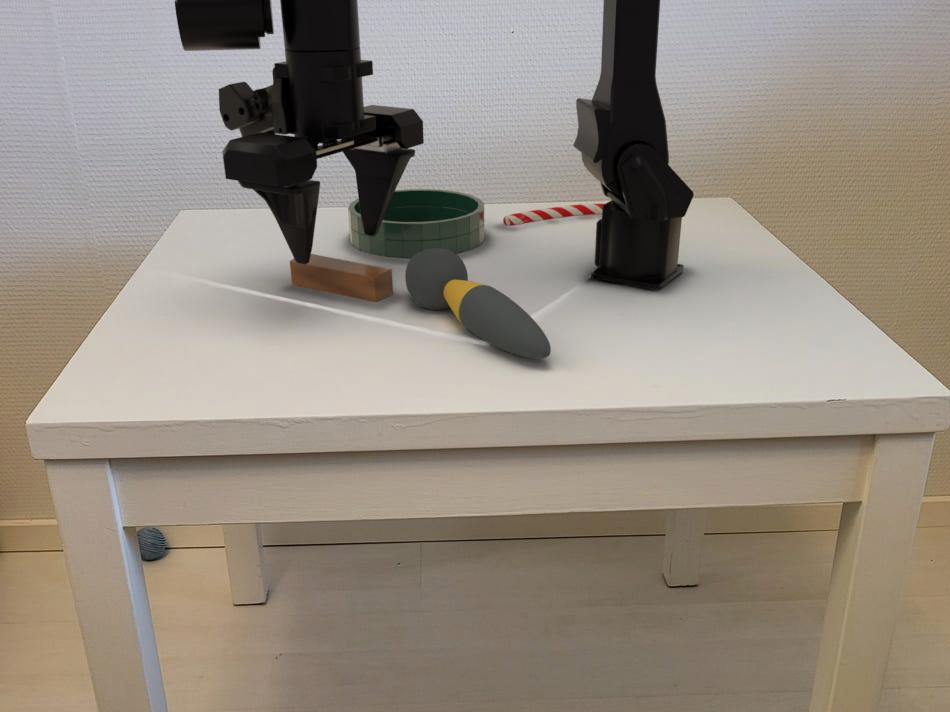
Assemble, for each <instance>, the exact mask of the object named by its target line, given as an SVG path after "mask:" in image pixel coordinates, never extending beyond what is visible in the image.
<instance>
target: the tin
mask: <svg viewBox="0 0 950 712" xmlns="http://www.w3.org/2000/svg"><path fill="white" fill-rule="evenodd" d="M347 214H348V215H347V216H348V229H349V230H348V231H349V240H350V243H351V245H352V246H353V247H354V248H356V249H357V250H359V251H361V252H364V253H367V254H371V255H375V256H378V257H379V256H381V257H387V258H393V259H395V258H397V259H411V258H412V257H413V256H414V255H416V254H417V253H419V252H422V251H424V250H427V249H433V248H441V249H447V250H450V251H452V252H454V253H455V254H457V255H458V254H462V253H465V252H468V251H471V250H473V249H476V248H478V247H479V246H481V245H482V244H483V242H484V240H485V202H484V201H483V200H482V199H481V198H479V197H477V196H474V195H472V194H468V193H464V192H461V191H456V190H448V189H434V188H433V189H431V188H409V189H408V188H407V189H395V192H394V194H393V196H392V199H391V201H390V203H389V206H388V208H387V211H386V213H385V216H384V218H383V220H382V223H381V225H380V228H379V230H378V233H377V235H375V236H369V235H366V234H365V233H364V229H363V225H362V220H361V213H360V205H359V197H358V198H356V199H355V200H353V201H352V202H350V203H349V205H348V207H347Z"/></svg>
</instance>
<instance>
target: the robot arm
mask: <svg viewBox="0 0 950 712" xmlns="http://www.w3.org/2000/svg"><path fill="white" fill-rule="evenodd" d="M279 4H280V14H281V15H280V16H281V23H282V34H283V44H284V55H285V57H284V58H285V61H279V62H274V65H273V66H274V67H273V68H272V72H271V73H272V84H271V85H268V86H266V87H263V88H258V89H254V90H253V88H252V87H251V86H250V85H249V84H248V82H246V81H240V82H233V83H229V84H227V85H224V86H222V87H220V88H218V106H219V107H218V109H219V113H220V116H221V119H222V122H223V124H224V126H225V128H226V129H228V130H229V131H235V130H239V131H240V135H241V136H240V137H237V138H233V139H229V140H228V142H227V144H226V145H225V147H224V148H223V150H222V151H221V152H222V153H221V154H222V159H223V168H224V176H225V180H231V181H237V182H238V184H239V185H240V187H241V188H242V189H249V190H252V191H254V192H255V193H256V194H257V195H258V196H259V197H261V198H262V199H263V201H264V202H265V203H266V204H267V206H268V208H269V209H270V211H271V213H272V215H273V216H274V219H275V220H276V223H277V224H278V227H279V229H280V231H281V233H282V236H283V237H284V240H285V242H286V244H287V246H288V249H289V250H290V252H291V255H292V257H293V259H295V261H296V262H297V263H300V264H308V263H309V260H310V256H311V254H312V250H313V247H314V236H315V229H316V220H317V213H318V205H319V196H320V190H321V189H320V188H321V181H320V180H314V179H312V178H313V177H314V175H315V172H316V170H317V168H318V160H319V159H321V158H326V157H328V156H332V155H336V154H339V153H343V154H344V156H345V158H346V159H347V161H348V162H349V163H350V165H351V167H352V168H353V170H354V172H355V180H356V181H355V182H356V189H357V196H358V198H359V205H360V213H361V220H362V225H363V229H364V233H365V234H366V235H369V236H375V235H377V233H378V230H379V228H380V225H381V223H382V220H383V218H384V216H385V213H386V211H387V208H388V206H389V203H390V201H391V199H392V196H393V194H394V192H395V190H397V187H398V185H399V182H400V181H401V179H402V177H403V175H404V173H405V170H406V168H407V166H408V164H409V162H410V160H411V159H412V158H414V157H415V155H416V149H414V147H417V146H420V145H423V144H424V143H425V142H424V141H425V140H424V121H423V119H422V118H421V116H420V115H419V114H418V112H417V111H416V110H415V109H414V108H406V107H398V106H397V107H396V106H387V105H377V104H369V105H366V106H365V103H364V87H363V77H364V78H365V77H369V76H373V75H374V64H373V63H374V62H373V60H368V59H362V55H361V36H360V20H359V5H358V4H359V1H358V0H279ZM174 8H175V14H176V15H175V16H176V22H177V29H178V34H179V38H180V43H181V47H182V48H183V50H184V52H198V51H199V52H201V51H202V52H203V51H235V50H237V51H240V50H241V51H243V50H244V51H245V50H261V48H262V47H261V45H262V44H261V38H266V35H275V29H274V15H273V6H272V0H174ZM660 10H661V0H603V9H602V11H603V12H602V37H601V64H600V73H599V78H598V79H599V80H598V82H597V85H596V88H595V91H594V93H593V96H592V98H591V99H589V98H581V97H578V98H576V100H575V105H576V106H575V107H576V115H577V116H576V117H577V126H578V127H577V134H576V137H575V140H574V143H573V148H575V149H576V150H577V151H579V152H580V154H581V161H582V164H583V166H584V167H585V169H586V171H588V172H589V173H590V174H591V176H592V177H594V178H595V179H596V180H597V181H598V182H599V183H600V187H601V190H602V193H603V195H604V196H605V197H606V198H609V199H610V200H609V201H607V202H606V203H603V204H604V205H603V207H602V214H601V218H600V219H598V221H596V229H595V243H594V244H595V245H594V263H593V264H594V265H595V267H597V268H595V269H593V270H592V271H591V273H590V276H591V277H590V278H591V279H594V280H600V281H605V282H611V283H617V284H623V285H628V286H633V287H639V288H645V289H651V290H659V289H661V288H663V287H664V286H665V285H667V284H668V283H669V282H671V281H673V280H674V278H676V277H677V276H678V275H680V274H681V273H683V272H684V270H685V265H684V264H682V263H679V255H680V254H679V253H680V242H681V231H682V220H683V218H685V217H686V214H687V212H688V209H689V207H690V205H691V203H692V201H693V198H694V195H695V194H694V191H693V190H692V189H691V188H690V187H689V186H688V185H687V184H686V182H685V181H684V180H683V178H682V177H680V176H679V175H678V174H677V173H676V171H674V169H673V168H672V167H671V166H670V164H669V163H670V154H669V153H670V152H669V141H668V132H667V121H666V116H665V113H664V108H663V104H662V100H661V96H660V92H659V89H658V85H657V74H656V73H657V59H658V45H659V44H658V43H659V29H660V28H659V25H660V12H661V11H660ZM293 135H294V136H293ZM320 144H321V145H320Z"/></svg>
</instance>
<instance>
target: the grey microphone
mask: <svg viewBox="0 0 950 712" xmlns="http://www.w3.org/2000/svg"><path fill="white" fill-rule="evenodd" d="M404 279H405V285H406V289H407V292H408V294H409V296H410V297H411V299H412V300H413V301H414V302H415V304H417V305H418V306H419V307H421V308H423V309H426V310H430V311H443V310H447V309H448V310H449V309H451V311H452V313H453V314H454V316H455V317H456V318H457V320H458V321H459V322H460V323H461V325H462V326H463V328H465V329H467V331H469V332H470V333H472V334H474V335H475V336H477V337H478V338H480V339H481V340H483V341H484V342H486V343H488V344H490V345H492V346H493V347H496V348H499V349H501V350H503V351H505V352H508V353H511V354H513V355H515V356H519V357H521V358H526V359H532V360H542V359H545V358H548V357H550V355H551V351H552V347H551V343H550V341H549V339H548V336H547V335H546V334H545V332H544V331H543V329H542V328H541V327H540V325H539V324H538V323H537V322H536V321H535V319H533V317H532V316H530V314H528V312H527V311H526V310H524V309H523V308H522V307H521V306H520V305H519V304H517V303H516V302H515V301H513V299H511V298H510V297H509V296H507V295H506V294H504V293H502V292H501V291H500V290H498V289H496V288H494V287H492V286H490V285H487V284H484V283H480V282H475V281H470V280H469V275H468V269H467V266H466V264H465V263H464V261H463V259H462V258H461V257H460V256H459V255H458V254H455V253H454V252H452V251H450V250H447V249H441V248H433V249H427V250H424V251H422V252H419V253H417V254H416V255H414V256H413V257H412V258H409V260H408V262H407V264H406V268H405V277H404Z"/></svg>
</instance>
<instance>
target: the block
mask: <svg viewBox="0 0 950 712" xmlns="http://www.w3.org/2000/svg"><path fill="white" fill-rule="evenodd" d="M289 266H290V277H291V285H292V286H296V287H301V288H306V289H310V290H315V291H320V292H325V293H328V294H329V293H330V294H334V295H339V296H344V297H348V298H353V299H358V300H363V301H368V302H373V303H378V302H379V301H382V300H384V299H385V298H388V297H390V296H392V295H393V294H394V283H393V281H394V280H393V269H392V268H388V267H382V266H377V265H371V264H366V263H361V262H356V261H351V260H347V259H341V258H334V257H330V256H324V255H318V254H314V253H311V256H310V260H309V263H308V264H300V263H297V262H296V261H295V259H294V258H293V259H290V260H289Z"/></svg>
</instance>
